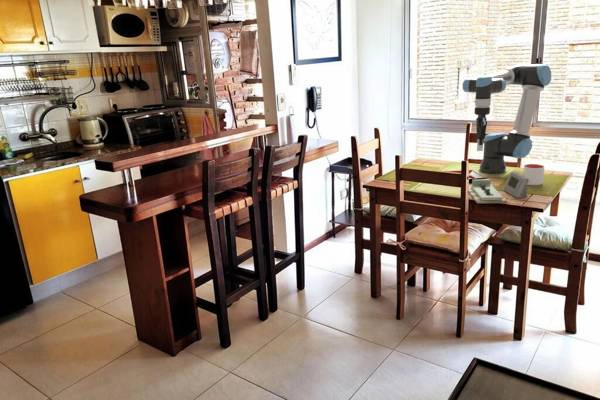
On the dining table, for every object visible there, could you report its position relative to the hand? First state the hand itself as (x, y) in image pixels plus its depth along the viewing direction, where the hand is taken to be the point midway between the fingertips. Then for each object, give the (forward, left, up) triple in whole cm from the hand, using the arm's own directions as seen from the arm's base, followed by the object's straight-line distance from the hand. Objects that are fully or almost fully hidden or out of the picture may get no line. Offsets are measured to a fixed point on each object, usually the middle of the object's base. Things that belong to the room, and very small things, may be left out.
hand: (479, 150), depth 246 cm
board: (+15, 0, -20) cm, 25 cm away
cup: (-3, +30, -21) cm, 36 cm away
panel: (+18, 0, -19) cm, 26 cm away
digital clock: (+16, +15, -21) cm, 30 cm away
